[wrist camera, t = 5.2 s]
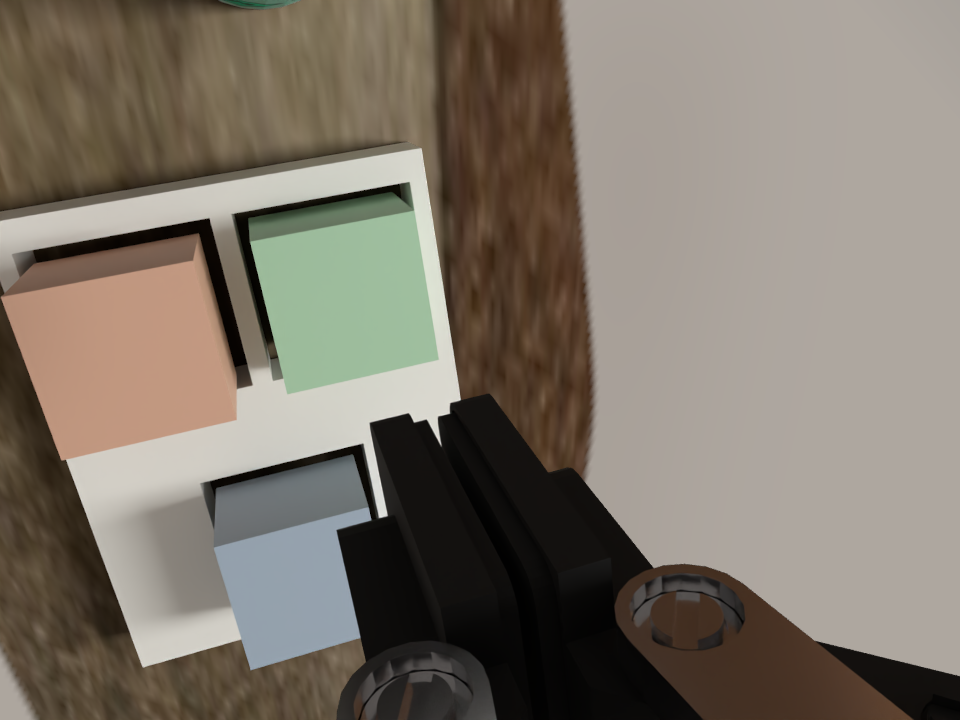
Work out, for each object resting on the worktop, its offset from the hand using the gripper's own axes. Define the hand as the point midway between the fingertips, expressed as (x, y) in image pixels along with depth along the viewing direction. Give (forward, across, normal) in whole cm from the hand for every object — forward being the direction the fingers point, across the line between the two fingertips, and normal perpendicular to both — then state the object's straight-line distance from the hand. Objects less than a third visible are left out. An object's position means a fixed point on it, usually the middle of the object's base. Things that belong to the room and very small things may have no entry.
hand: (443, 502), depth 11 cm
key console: (+16, +3, +5) cm, 17 cm away
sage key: (+16, 0, +1) cm, 16 cm away
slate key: (+15, +3, +9) cm, 17 cm away
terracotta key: (+15, +6, +1) cm, 16 cm away
